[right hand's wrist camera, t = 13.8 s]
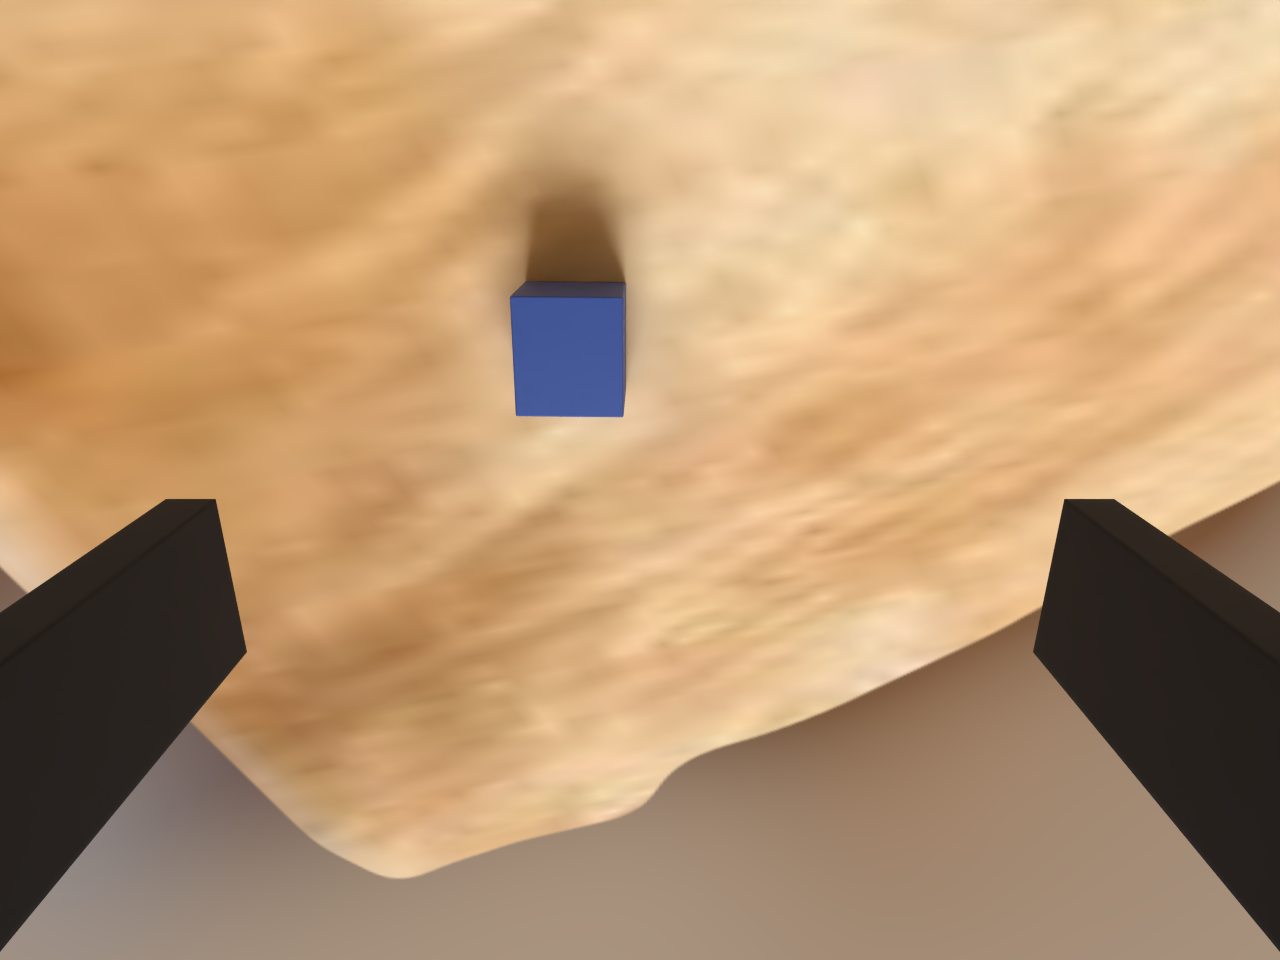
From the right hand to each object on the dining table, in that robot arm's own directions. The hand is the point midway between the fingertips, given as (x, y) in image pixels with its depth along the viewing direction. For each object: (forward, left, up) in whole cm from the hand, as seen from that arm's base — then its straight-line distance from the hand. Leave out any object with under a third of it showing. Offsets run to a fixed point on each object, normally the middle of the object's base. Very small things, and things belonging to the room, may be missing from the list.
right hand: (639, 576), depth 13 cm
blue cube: (-1, -3, -27) cm, 27 cm away
